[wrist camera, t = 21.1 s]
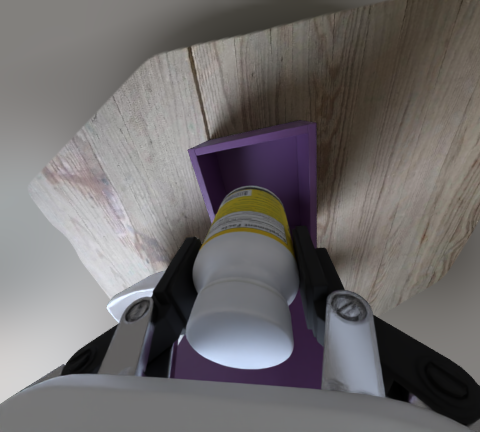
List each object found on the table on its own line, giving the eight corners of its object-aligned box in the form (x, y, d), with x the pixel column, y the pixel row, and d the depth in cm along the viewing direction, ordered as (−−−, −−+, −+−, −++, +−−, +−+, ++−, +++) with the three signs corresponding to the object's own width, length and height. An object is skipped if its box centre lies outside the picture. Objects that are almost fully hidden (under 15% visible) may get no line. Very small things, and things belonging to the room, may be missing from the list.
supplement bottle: (268, 248, 16) (272, 389, 8) (213, 227, 16) (155, 353, 8) (298, 198, 14) (350, 334, 5) (232, 172, 13) (175, 273, 5)
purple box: (208, 140, 27) (187, 149, 20) (300, 120, 25) (316, 122, 17) (233, 233, 36) (225, 265, 28) (304, 226, 33) (316, 259, 25)
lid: (134, 419, 10) (155, 489, 10) (435, 457, 7) (433, 549, 8) (224, 265, 27) (229, 295, 28) (317, 259, 25) (320, 292, 26)
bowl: (182, 312, 52) (162, 360, 42) (130, 258, 43) (89, 302, 33) (251, 299, 45) (248, 352, 35) (208, 231, 36) (186, 276, 26)
